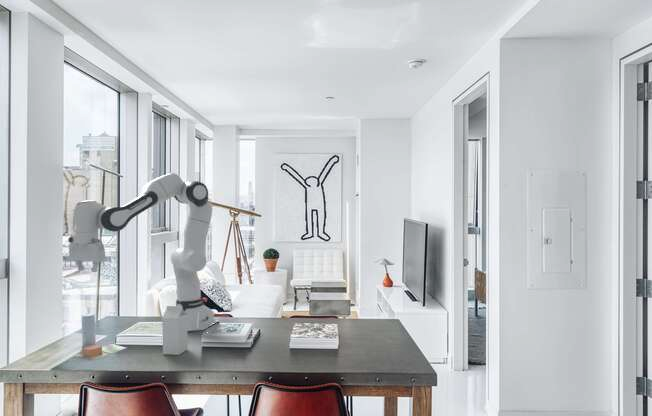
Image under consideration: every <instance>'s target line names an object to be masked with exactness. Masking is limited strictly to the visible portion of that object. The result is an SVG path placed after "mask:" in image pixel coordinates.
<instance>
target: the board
mask: <svg viewBox="0 0 652 416" xmlns="http://www.w3.org/2000/svg"><path fill="white" fill-rule="evenodd" d="M126 349H127V347H125V346H121V345H118V344H113V343H110V344H107V345H103V346H102V354H100V355H97V356H94V357H87V356H83V352H81V353H78V354H75V355H74V356H75V357H79V358H83V359H85V360H89V361H93V360H96V359H99V358H102V357H106V356H108V355H110V354H114V353H117V352H120V351H124V350H126Z"/></svg>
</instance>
